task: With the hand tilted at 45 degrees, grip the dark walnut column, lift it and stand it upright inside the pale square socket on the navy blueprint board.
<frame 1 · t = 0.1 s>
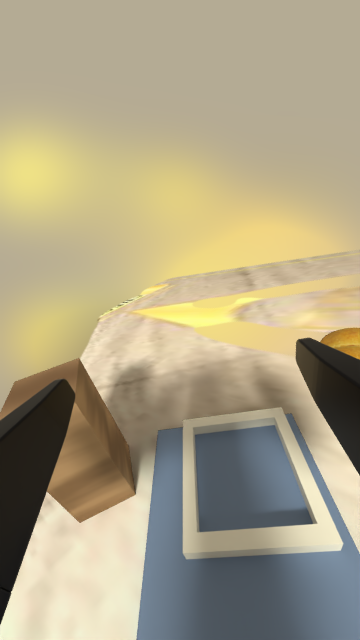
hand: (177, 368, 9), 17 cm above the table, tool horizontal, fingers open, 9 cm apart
walnut column: (106, 479, 22), on the table
bread roll: (355, 367, 28), on the table
blueprint board: (254, 606, 14), on the table
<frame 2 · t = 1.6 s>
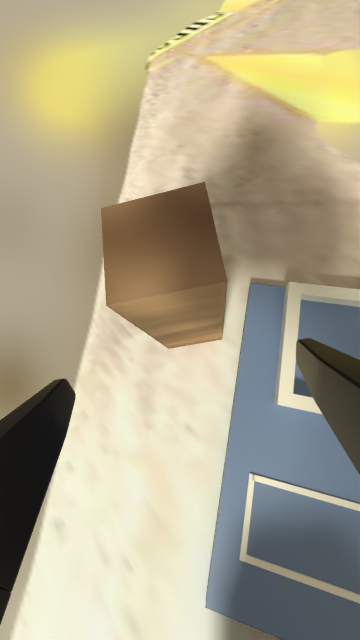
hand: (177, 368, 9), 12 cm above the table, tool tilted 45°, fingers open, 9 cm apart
walnut column: (190, 318, 22), on the table
blueprint board: (323, 441, 17), on the table
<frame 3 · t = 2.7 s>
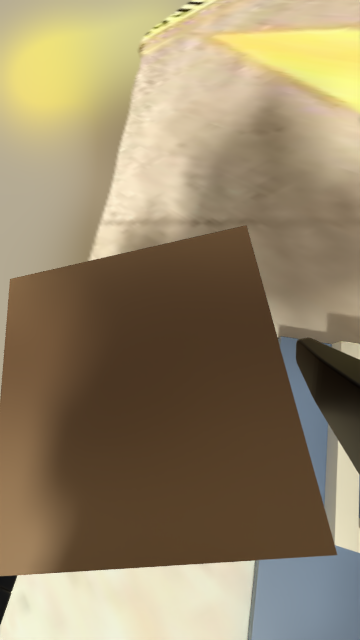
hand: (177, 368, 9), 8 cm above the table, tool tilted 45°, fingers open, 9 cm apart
walnut column: (196, 382, 16), on the table
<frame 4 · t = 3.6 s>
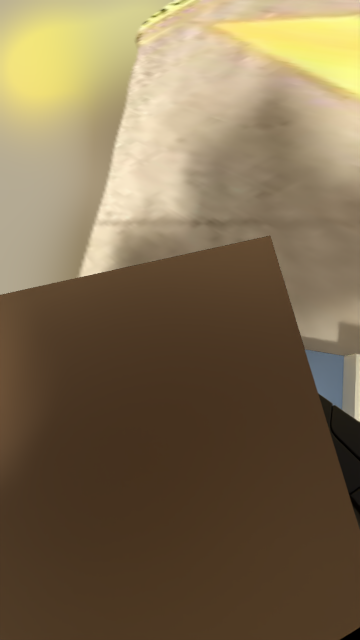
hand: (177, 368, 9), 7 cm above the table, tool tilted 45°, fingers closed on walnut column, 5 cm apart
walnut column: (197, 395, 15), on the table, touching gripper
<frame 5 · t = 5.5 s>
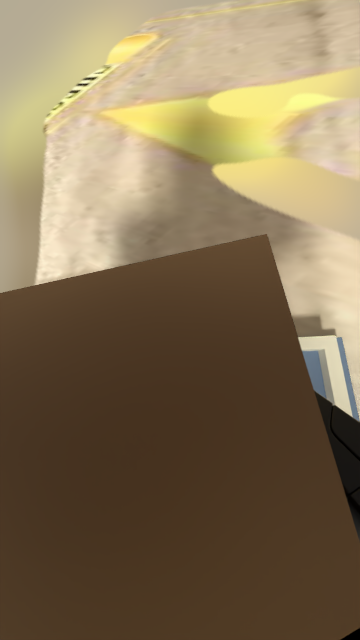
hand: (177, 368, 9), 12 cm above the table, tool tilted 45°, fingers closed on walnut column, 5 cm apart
walnut column: (196, 395, 15), point 6 cm above the table, touching gripper
blueprint board: (269, 497, 17), on the table
when the fingers open (8 cm above the table, at t = 7.4 s): walnut column stays where it is, resting on blueprint board.
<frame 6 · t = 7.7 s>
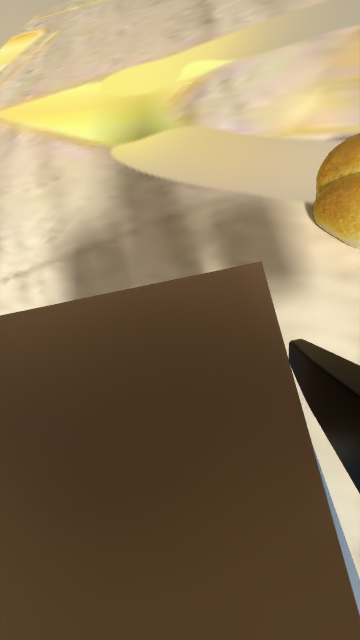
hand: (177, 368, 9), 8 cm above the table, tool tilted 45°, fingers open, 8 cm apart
walnut column: (198, 395, 15), point 1 cm above the table, touching blueprint board
blueprint board: (210, 512, 14), on the table
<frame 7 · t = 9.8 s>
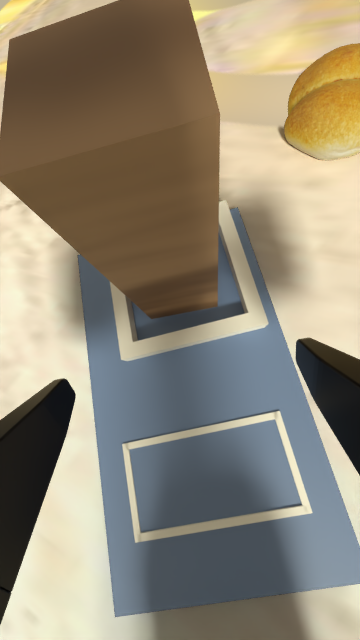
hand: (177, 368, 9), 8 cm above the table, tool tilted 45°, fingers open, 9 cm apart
walnut column: (179, 282, 17), point 1 cm above the table, touching blueprint board
bread roll: (329, 125, 20), on the table
blueprint board: (188, 376, 16), on the table
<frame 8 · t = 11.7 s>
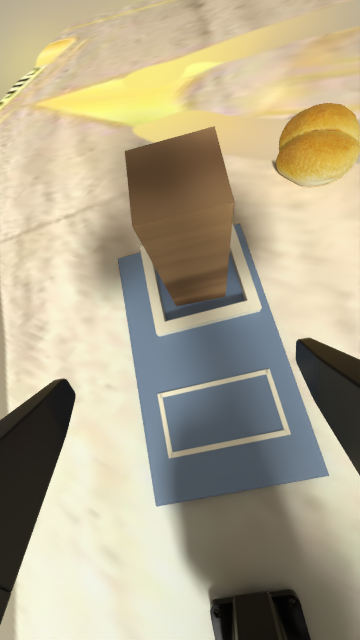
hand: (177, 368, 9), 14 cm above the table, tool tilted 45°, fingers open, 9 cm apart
walnut column: (196, 279, 23), point 1 cm above the table, touching blueprint board
bread roll: (310, 159, 26), on the table
blueprint board: (203, 347, 22), on the table
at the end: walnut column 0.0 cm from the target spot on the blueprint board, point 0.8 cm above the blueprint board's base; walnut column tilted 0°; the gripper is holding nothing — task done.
